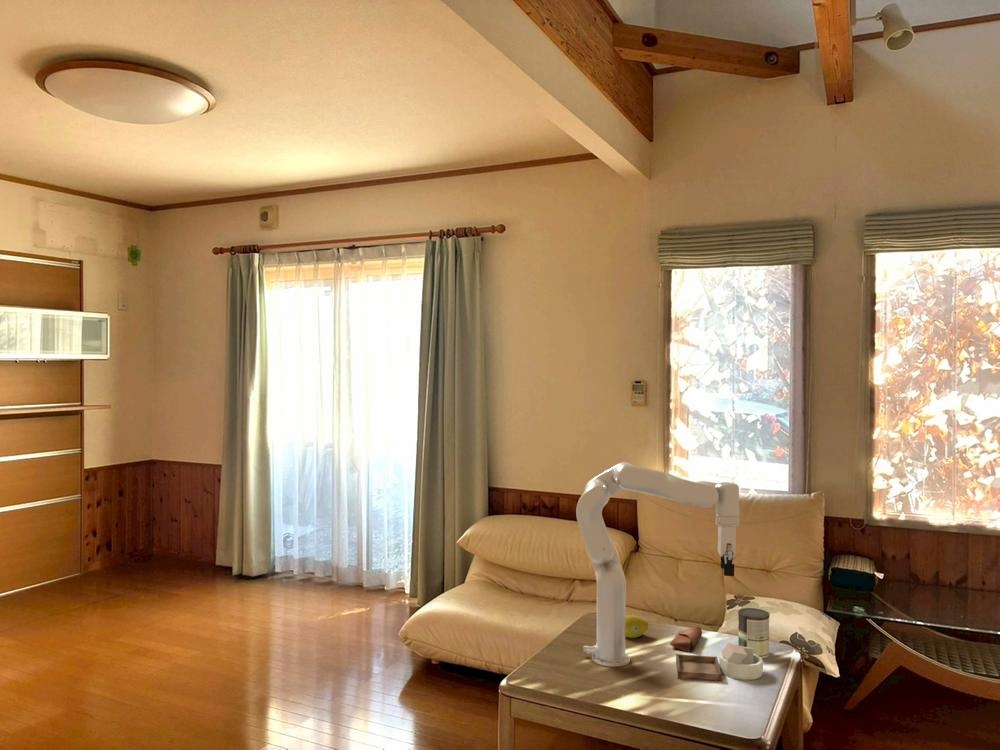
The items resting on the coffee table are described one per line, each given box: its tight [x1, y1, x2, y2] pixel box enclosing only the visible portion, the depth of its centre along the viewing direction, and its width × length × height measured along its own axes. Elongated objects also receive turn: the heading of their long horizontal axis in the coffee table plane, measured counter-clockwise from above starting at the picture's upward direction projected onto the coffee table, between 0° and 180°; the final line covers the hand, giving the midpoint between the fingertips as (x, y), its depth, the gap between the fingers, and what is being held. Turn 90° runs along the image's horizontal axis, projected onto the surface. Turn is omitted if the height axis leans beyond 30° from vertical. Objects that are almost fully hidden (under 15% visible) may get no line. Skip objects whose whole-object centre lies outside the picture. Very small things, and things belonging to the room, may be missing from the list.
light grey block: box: [741, 647, 754, 665], centre depth 244 cm, size 4×4×6 cm
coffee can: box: [737, 607, 770, 659], centre depth 259 cm, size 10×10×14 cm
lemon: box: [625, 614, 649, 639], centre depth 275 cm, size 11×8×8 cm
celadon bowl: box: [718, 653, 764, 681], centre depth 242 cm, size 13×13×4 cm
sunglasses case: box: [669, 626, 703, 653], centre depth 269 cm, size 18×7×7 cm
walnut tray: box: [675, 653, 723, 683], centre depth 243 cm, size 13×16×2 cm
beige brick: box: [720, 642, 747, 664], centre depth 241 cm, size 4×4×6 cm
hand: (727, 572), depth 250 cm, fingers open, 9 cm apart
